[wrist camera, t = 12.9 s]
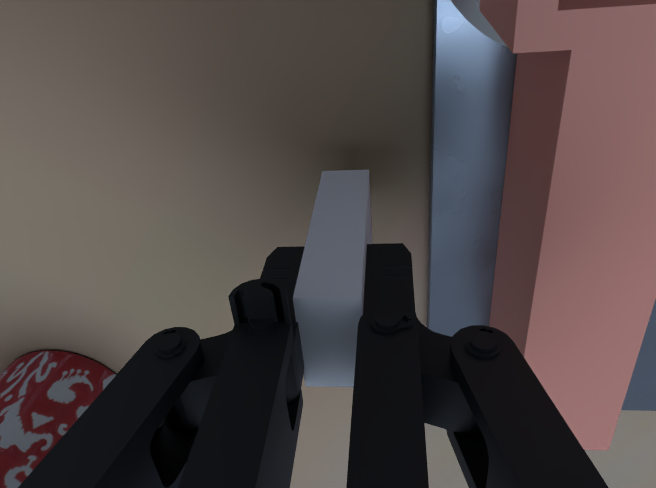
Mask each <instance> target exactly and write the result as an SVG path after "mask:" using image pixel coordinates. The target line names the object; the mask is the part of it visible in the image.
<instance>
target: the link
mask: <svg viewBox="0 0 656 488" xmlns="http://www.w3.org/2000/svg"><path fill="white" fill-rule="evenodd" d="M479 10H480V12H481V13H482V14H483V16H484V17H485V18H486V19H487V21H488V22H489V23H490V25H491V26H492V27H493V28H494V30H495V31H496V32H497V34H498V35H499V36H500V38H501V39H502V40H503V41H504V43H505V44H506V45H507V47H508V48H509V49H510V50H511V52H512V53H517V61H516V71H515V80H514V90H513V100H512V110H511V119H510V129H509V139H508V148H507V158H506V168H505V177H504V187H503V197H502V206H501V216H500V226H499V235H498V245H497V255H496V264H495V274H494V284H493V294H492V303H491V313H490V323H489V327H494V328H496V329H498V330H500V331H502V332H504V333H506V334H507V335H508V336H509V337H510V338H511V339H512V340H513V341H514V343H515V344H516V346H517V347H518V349H519V351H520V352H521V354H522V355H523V357H524V358H525V360H526V361H527V363H528V364H529V366H530V368H531V369H532V371H533V372H534V374H535V375H536V377H537V378H538V380H539V381H540V383H541V384H542V386H543V388H544V389H545V391H546V392H547V394H548V395H549V397H550V398H551V400H552V401H553V403H554V404H555V406H556V408H557V409H558V411H559V412H560V414H561V415H562V417H563V418H564V420H565V421H566V423H567V425H568V426H569V428H570V429H571V431H572V432H573V434H574V435H575V437H576V438H577V440H578V441H579V443H580V445H581V446H582V448H583V449H584V450H609V447H610V444H611V441H612V438H613V434H614V431H615V428H616V425H617V421H618V418H619V415H620V412H621V409H622V405H623V402H624V399H625V396H626V393H627V389H628V386H629V383H630V380H631V376H632V373H633V370H634V367H635V364H636V360H637V357H638V354H639V351H640V348H641V344H642V341H643V338H644V335H645V331H646V328H647V325H648V322H649V319H650V315H651V312H652V309H653V306H654V303H655V299H656V0H480V7H479Z"/></svg>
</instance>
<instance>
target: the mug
mask: <svg viewBox="0 0 656 488" xmlns="http://www.w3.org/2000/svg"><path fill="white" fill-rule="evenodd" d="M115 376H116V374H115V373H113V372H112V371H110V370H109V369H108V368H106V367H104V366H103V365H101V364H99V363H97V362H95V361H93V360H91V359H88V358H86V357H83V356H80V355H77V354H73V353H69V352H64V351H37V352H32V353H29V354H26V355H24V356H22V357H20V358H18V359H16V360H15V361H14V362H13V363H12V364H10V365H9V366H8V367H7V368H6V369H5V370H4V371H3V372H2V373H1V375H0V488H18V487H19V486H20V485H21V483H22V482H23V481H24V480H25V479H26V478H27V477H28V475H29V474H30V473H31V472H32V471H33V470H34V469H35V467H36V466H37V465H38V464H39V463H40V462H41V461H42V459H43V458H44V457H45V456H46V455H47V454H48V453H49V451H50V450H51V449H52V448H53V447H54V446H55V445H56V443H57V442H58V441H59V440H60V439H61V438H62V437H63V435H64V434H65V433H66V432H67V431H68V430H69V429H70V427H71V426H72V425H73V424H74V423H75V422H76V421H77V419H78V418H79V417H80V416H81V415H82V414H83V413H84V411H85V410H86V409H87V408H88V407H89V406H90V405H91V403H92V402H93V401H94V400H95V399H96V398H97V397H98V395H99V394H100V393H101V392H102V391H103V390H104V389H105V387H106V386H107V385H108V384H109V383H110V382H111V381H112V379H113V378H114V377H115Z"/></svg>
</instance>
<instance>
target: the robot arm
mask: <svg viewBox="0 0 656 488" xmlns="http://www.w3.org/2000/svg"><path fill="white" fill-rule="evenodd" d="M228 297H229V301H230V306H231V310H232V315H233V319H234V324H235V325H234V328H233V330H232V331H229V332H227V333H225V334H222V335H218V336H214V337H210V338H206V339H201V340H200V337H199V335H198V334H197V333H196V332H195V331H194V330H192V329H189V328H186V327H174V328H169V329H165V330H162V331H160V332H158V333H156V334H154V335H153V336H152V337H151V338H149V339H148V340H147V341H146V342H145V343H144V344H143V345H142V346H141V347H140V349H139V350H138V351H137V352H136V353H135V354H134V355H133V357H132V358H131V359H130V360H129V361H128V362H127V363H126V365H125V366H124V367H123V368H122V369H121V370H120V371H119V373H118V374H117V375H116V376H115V377H114V378H113V379H112V381H111V382H110V383H109V384H108V385H107V386H106V387H105V389H104V390H103V391H102V392H101V393H100V394H99V395H98V397H97V398H96V399H95V400H94V401H93V402H92V403H91V405H90V406H89V407H88V408H87V409H86V410H85V411H84V413H83V414H82V415H81V416H80V417H79V418H78V419H77V421H76V422H75V423H74V424H73V425H72V426H71V427H70V429H69V430H68V431H67V432H66V433H65V434H64V435H63V437H62V438H61V439H60V440H59V441H58V442H57V443H56V445H55V446H54V447H53V448H52V449H51V450H50V451H49V453H48V454H47V455H46V456H45V457H44V458H43V459H42V461H41V462H40V463H39V464H38V465H37V466H36V467H35V469H34V470H33V471H32V472H31V473H30V474H29V475H28V477H27V478H26V479H25V480H24V481H23V482H22V483H21V485H20V486H19V487H18V488H290V482H291V476H292V469H293V463H294V457H295V451H296V444H297V438H298V432H299V426H300V419H301V413H302V407H303V398H302V391H301V385H302V379H303V373H304V380H305V386H337V387H354V389H353V403H352V417H351V432H350V446H349V460H348V474H347V488H429V485H428V470H427V456H426V441H425V427H424V423H427V424H431V425H434V426H437V427H441V428H444V429H447V435H448V437H449V440H450V442H451V445H452V447H453V450H454V452H455V455H456V457H457V460H458V462H459V464H460V467H461V469H462V472H463V474H464V477H465V479H466V482H467V484H468V487H469V488H608V486H607V485H606V483H605V482H604V480H603V478H602V477H601V475H600V474H599V472H598V471H597V469H596V468H595V466H594V465H593V463H592V462H591V460H590V458H589V457H588V455H587V454H586V452H585V451H584V449H583V448H582V446H581V445H580V443H579V441H578V440H577V438H576V437H575V435H574V434H573V432H572V431H571V429H570V428H569V426H568V425H567V423H566V421H565V420H564V418H563V417H562V415H561V414H560V412H559V411H558V409H557V408H556V406H555V404H554V403H553V401H552V400H551V398H550V397H549V395H548V394H547V392H546V391H545V389H544V388H543V386H542V384H541V383H540V381H539V380H538V378H537V377H536V375H535V374H534V372H533V371H532V369H531V368H530V366H529V364H528V363H527V361H526V360H525V358H524V357H523V355H522V354H521V352H520V351H519V349H518V347H517V346H516V344H515V343H514V341H513V340H512V339H511V338H510V337H509V336H508V335H507V334H506V333H504V332H502V331H500V330H498V329H496V328H494V327H489V326H485V325H471V326H468V327H465V328H462V329H460V330H459V331H457V332H456V333H455V334H454V335H453V337H451V336H447V335H443V334H440V333H436V332H433V331H432V330H430V329H428V328H426V327H425V326H424V325H423V324H421V323H420V321H419V320H418V318H417V317H416V313H415V302H414V288H413V274H412V259H411V253H410V252H409V250H408V249H407V248H406V247H405V246H404V244H403V243H397V244H372V224H371V201H370V178H369V169H367V170H339V171H322V175H321V179H320V183H319V188H318V192H317V196H316V200H315V205H314V209H313V213H312V218H311V222H310V226H309V231H308V235H307V239H306V243H305V247H277V248H276V249H275V250H274V251H273V252H272V253H271V254H270V255H269V256H268V257H267V259H266V262H265V265H264V268H263V271H262V274H261V277H260V279H256V280H250V281H248V282H245V283H242V284H240V285H239V286H238V287H236V288H235V289H233V291H232V292H231V293H230V295H229V296H228Z"/></svg>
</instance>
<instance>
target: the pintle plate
mask: <svg viewBox="0 0 656 488" xmlns="http://www.w3.org/2000/svg"><path fill="white" fill-rule="evenodd" d="M479 7H480V0H434V26H433V73H432V120H431V168H430V215H429V262H428V310H427V328H428V329H430V330H432V331H433V332H436V333H440V334H443V335H447V336H451V337H453V335H454V334H455V333H456V332H457V331H459V330H460V329H462V328H465V327H468V326H471V325H485V326H489V323H490V313H491V303H492V294H493V284H494V274H495V264H496V255H497V245H498V235H499V226H500V216H501V206H502V197H503V187H504V177H505V168H506V158H507V148H508V139H509V129H510V119H511V110H512V100H513V90H514V80H515V71H516V61H517V53H512V52H511V50H510V49H509V48H508V47H507V45H506V44H505V43H504V41H503V40H502V39H501V38H500V36H499V35H498V34H497V32H496V31H495V30H494V28H493V27H492V26H491V25H490V23H489V22H488V21H487V19H486V18H485V17H484V16H483V14H482V13H481V12H480V10H479ZM621 410H651V411H656V299H655V303H654V306H653V309H652V312H651V315H650V319H649V322H648V325H647V328H646V331H645V335H644V338H643V341H642V344H641V348H640V351H639V354H638V357H637V360H636V364H635V367H634V370H633V373H632V376H631V380H630V383H629V386H628V389H627V393H626V396H625V399H624V402H623V405H622V409H621Z"/></svg>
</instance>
